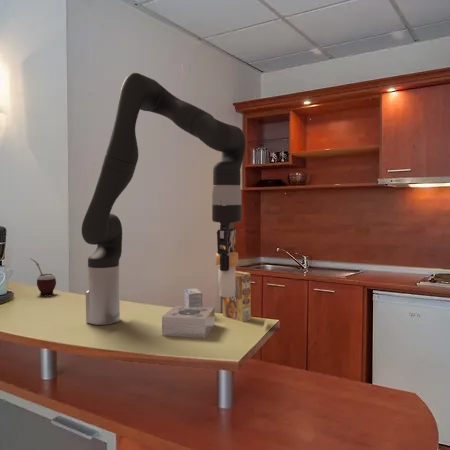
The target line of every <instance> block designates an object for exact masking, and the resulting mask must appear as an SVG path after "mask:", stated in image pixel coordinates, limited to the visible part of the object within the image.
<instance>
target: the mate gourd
mask: <svg viewBox="0 0 450 450" xmlns="http://www.w3.org/2000/svg"><path fill="white" fill-rule="evenodd" d="M29 260H31V261H33V262H34V263H35V265H36V266H37V268H38V270H39V273H40V274H39V275H38V277H37V278H36V285H37V289H38V290H39V292H40V293H39V296H40V297H45V295H46V296H49V295H53V296H54V290H55V288H56V285H57V280H56V276H55V275H54V274H53V273H43V272H42V269H41V268H40V264H39V263H38V261H36V260H35V259H33V258H31V257H30V258H29ZM40 294H41V295H40Z"/></svg>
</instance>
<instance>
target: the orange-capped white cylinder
mask: <svg viewBox="0 0 450 450" xmlns="http://www.w3.org/2000/svg"><path fill="white" fill-rule="evenodd" d="M215 266H217V267H218V270H217V271H218V275H217V277H218V297H220V298H222V297H234V296H235V271H236V267H237V266H239V252H236V251H234V252H230V255H229V270H228V271H221V270H220V256H219V254H218V253H217V252H215Z"/></svg>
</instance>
